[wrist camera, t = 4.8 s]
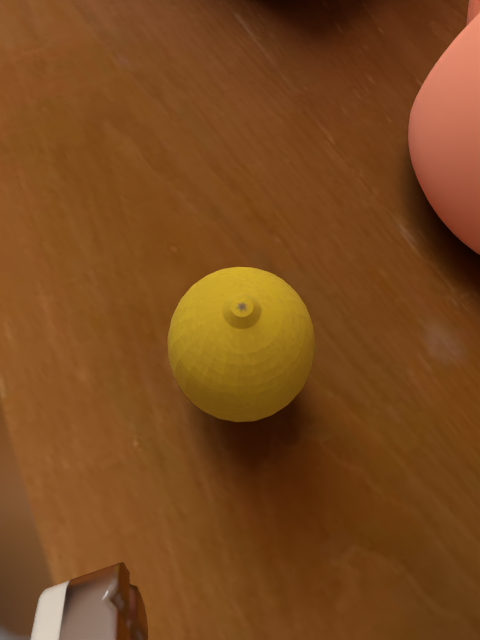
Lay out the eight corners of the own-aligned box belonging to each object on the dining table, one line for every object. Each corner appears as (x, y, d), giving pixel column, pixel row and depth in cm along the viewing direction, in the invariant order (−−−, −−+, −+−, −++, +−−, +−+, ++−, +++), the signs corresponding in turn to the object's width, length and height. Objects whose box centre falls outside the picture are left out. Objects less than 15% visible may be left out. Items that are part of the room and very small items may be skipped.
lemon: (157, 386, 20) (108, 324, 12) (228, 299, 21) (223, 198, 14) (254, 459, 18) (265, 441, 11) (321, 361, 20) (370, 287, 13)
